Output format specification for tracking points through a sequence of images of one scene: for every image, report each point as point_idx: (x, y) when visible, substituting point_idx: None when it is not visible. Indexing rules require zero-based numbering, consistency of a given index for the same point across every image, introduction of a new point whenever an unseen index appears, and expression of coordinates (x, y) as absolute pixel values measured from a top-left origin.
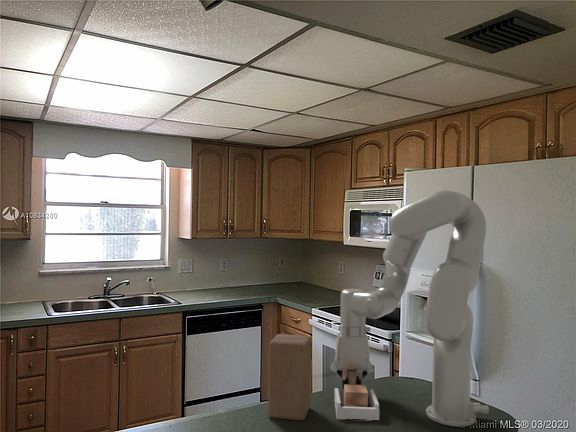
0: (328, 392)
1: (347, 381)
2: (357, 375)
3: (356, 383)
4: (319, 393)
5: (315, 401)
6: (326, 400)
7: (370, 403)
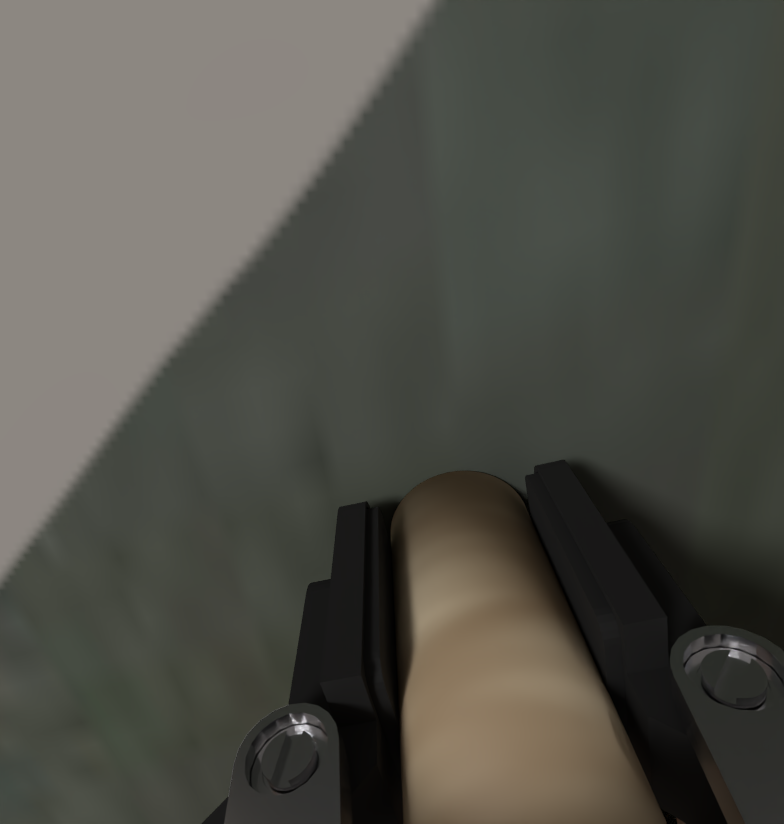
0: (126, 570)
1: None
2: (677, 731)
3: None
4: (27, 633)
5: (96, 818)
6: (197, 773)
7: None
